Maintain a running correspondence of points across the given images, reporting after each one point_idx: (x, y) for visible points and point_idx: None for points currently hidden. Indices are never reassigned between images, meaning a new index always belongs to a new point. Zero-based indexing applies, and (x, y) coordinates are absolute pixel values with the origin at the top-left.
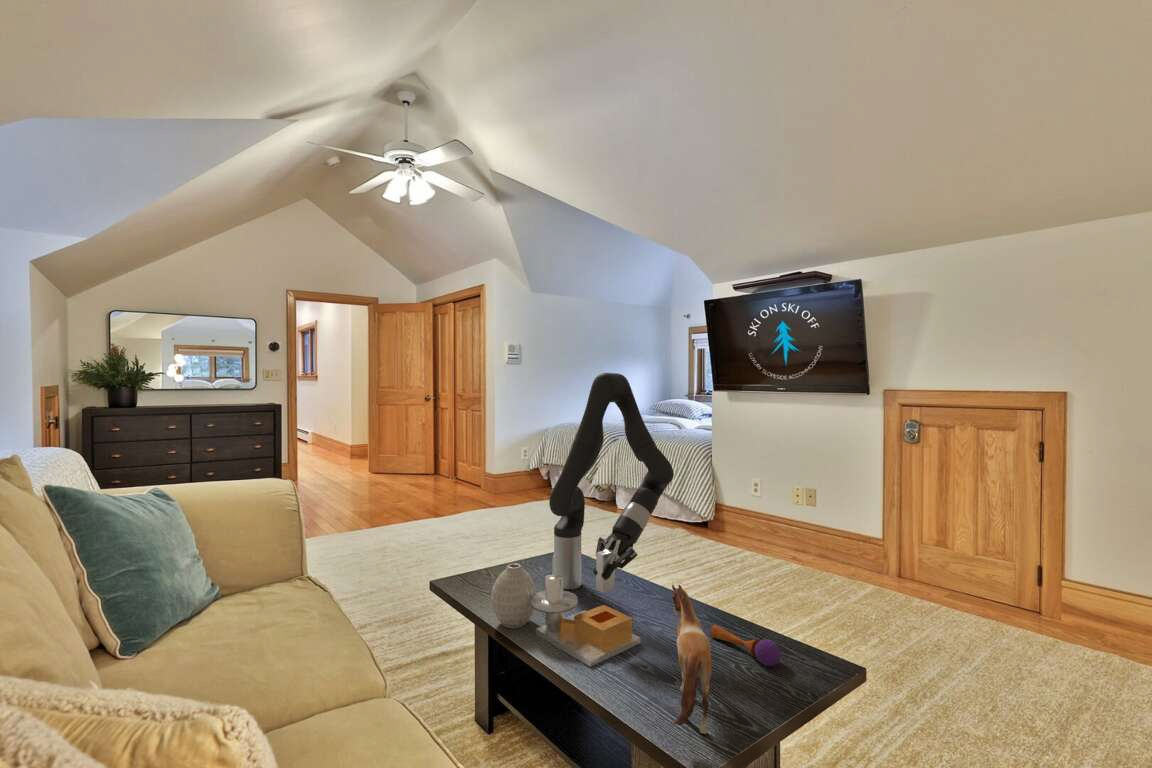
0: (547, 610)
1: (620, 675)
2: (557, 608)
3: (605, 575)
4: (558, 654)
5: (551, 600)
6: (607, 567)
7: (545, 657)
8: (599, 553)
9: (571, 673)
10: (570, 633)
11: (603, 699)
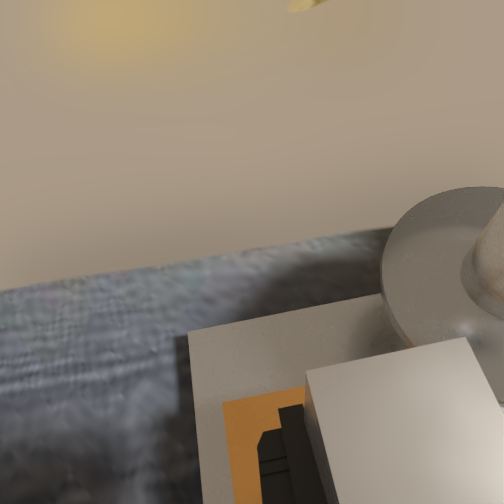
0: (400, 219)
1: (98, 396)
2: (392, 251)
3: (267, 432)
4: (305, 291)
5: (470, 248)
6: (295, 478)
7: (307, 254)
8: (406, 362)
9: (196, 278)
10: None
11: (54, 292)
